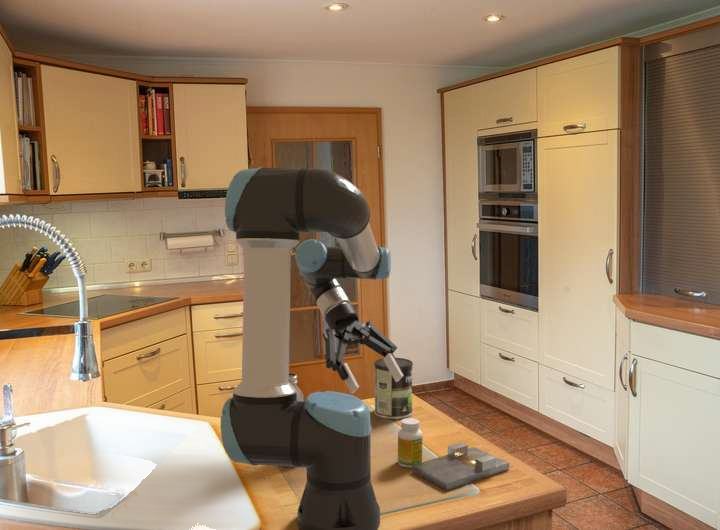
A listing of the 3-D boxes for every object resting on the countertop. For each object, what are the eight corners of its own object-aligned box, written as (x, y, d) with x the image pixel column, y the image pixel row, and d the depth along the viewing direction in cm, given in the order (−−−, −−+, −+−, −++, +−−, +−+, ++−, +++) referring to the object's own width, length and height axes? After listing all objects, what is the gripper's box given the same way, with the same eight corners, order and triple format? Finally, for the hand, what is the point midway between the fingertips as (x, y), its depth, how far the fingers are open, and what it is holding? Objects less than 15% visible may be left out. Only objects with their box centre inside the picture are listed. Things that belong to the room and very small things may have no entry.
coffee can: (414, 408, 189) (414, 358, 187) (409, 420, 178) (410, 368, 177) (377, 405, 191) (377, 356, 189) (370, 418, 181) (370, 366, 179)
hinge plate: (446, 490, 138) (447, 474, 138) (412, 471, 147) (412, 456, 146) (509, 469, 148) (509, 453, 148) (473, 453, 157) (473, 438, 157)
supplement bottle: (415, 470, 148) (415, 427, 147) (393, 465, 151) (393, 422, 149) (426, 461, 152) (426, 419, 151) (404, 456, 155) (405, 415, 154)
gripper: (369, 313, 178) (409, 382, 168) (289, 327, 162) (328, 404, 152) (383, 295, 173) (424, 366, 164) (301, 308, 157) (342, 386, 148)
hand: (378, 384), depth 158 cm, fingers open, 13 cm apart
